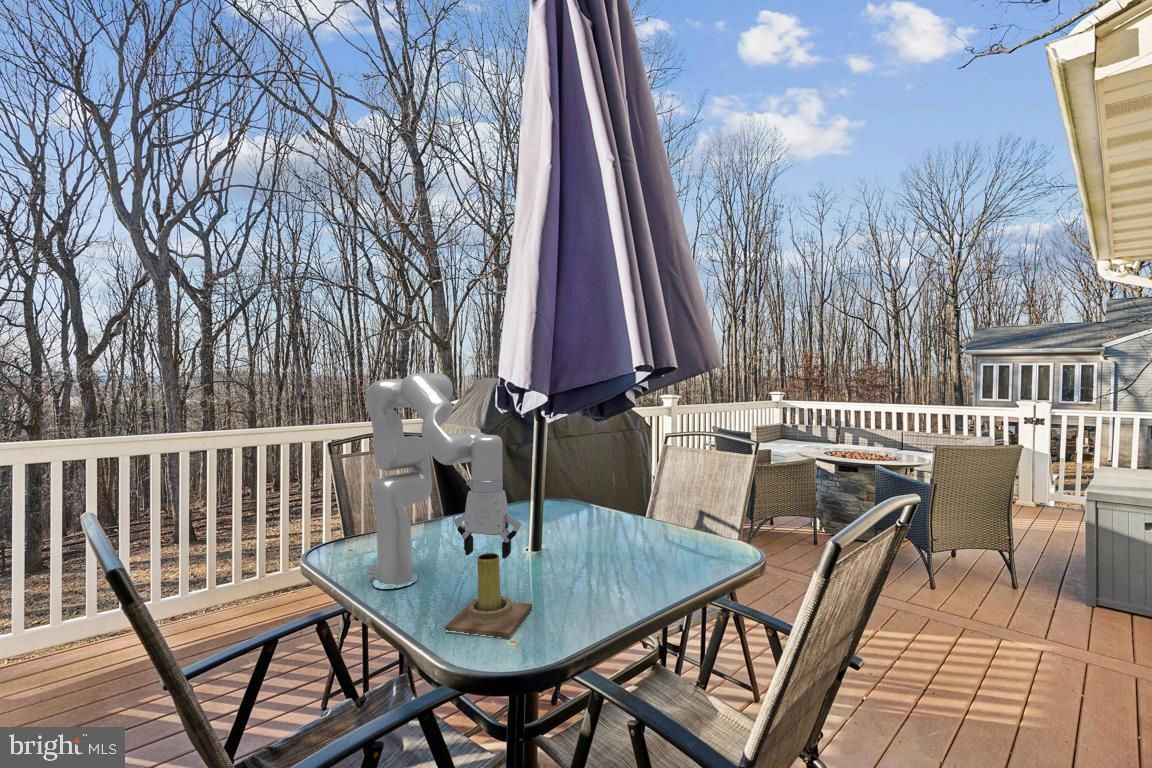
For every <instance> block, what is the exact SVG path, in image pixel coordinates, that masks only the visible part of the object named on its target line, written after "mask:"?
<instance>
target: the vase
mask: <svg viewBox="0 0 1152 768" xmlns="http://www.w3.org/2000/svg"><path fill="white" fill-rule="evenodd" d="M500 572H501V571H500V555H499V554H498V553H494V552H488V553H487V552H486V553H482V554H479V555H478V556H477V599H478V611H485V612H490V611H497V610H499V609H502V608H501V596H502V595H501V594H502V593H501V579H500V578H501V575H500V574H501V573H500Z"/></svg>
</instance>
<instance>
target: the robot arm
mask: <svg viewBox="0 0 1152 768" xmlns="http://www.w3.org/2000/svg"><path fill="white" fill-rule="evenodd" d="M453 391H454V386H453V382H452V380H451V379H450V377H448V376H447V375H446V374H444V373H441V372H416V373H415V372H414V373H411V374H409V375H407V376H405V377H404V378H386V379H385V378H384V379H381V380H380V379H379V380H377V381H374V382H373V383H371V384H370V385H369V386H368V389H367V391H366V396H365V398H366V399H365V402H366V403H365V404H366V408H367V412H368V415H369V418H370V422H371V427H372V436H373V449H374V459H375V464H376V466H377V468H378V469H379V470H380V471H386V472H389V471H390V472H391V471H397V470H405V469H408V472H404V473H403V472H402V473H397V474H391V475H385V476H382V477H381V478H379V479H377V480H376V481H375V482H374V484H373V485H372V489H371V492H372V493H371V495H372V500H373V504H374V509H375V510H374V511H375V520H376V521H375V522H376V544H377V545H376V547H377V548H376V549H377V553H376V554H377V566H376V565H370V566H369V567H368V570H367V572H366V574H367V575H369V576H374V579H375V580H378V581H379V582H381V583H384V584H395V585H403V584H407V583H409V582H412V581H414V580H415V579H416V578H417V579H418V574H417V573H416V572H414V571H412V570H413V565H412V564H413V562H412V558H413V557H412V527H411V526H412V525H411V524H412V523H411V519H410V516H409V515H408V513H407V512H406V511H405V509H404V507H405V506H409V505H413V504H417V503H421V502H422V503H423V502H424V501H427V500H428V499H429V498H430V496H431V494H432V490H433V482H432V481H433V480H432V470H431V457H430V456H432V457H433V458H434V459H435V460H436V461H437V462H438V463H440V464H442V465H445V466H451V465H459V464H463V463H471V478H470V479H467V481H466V486H469V487H470V490H469V491H468V492H467V496H466V503H465V509H464V514H463V515H460V516H458V517H457V518H454V520H453V523H454V525H455V526H456V528H457V532H458V533H459V534H460V535H461V538H462V539H463V544H464V545H463V549H464V554H465V556H469V555H471V554H472V553H473V552H474V536H473V534H474V535H475V534H477V535H489V536H500V538H501V539H502V540H503V541H502V542H501V557H502V558H501V559H504V560H505V559H507V558H508V557H509V556H510V555H511V552H512V539H513V538H514V537H515V536H517V534H518V533H519V531H520V529H521V527H522V522H520V521H519V520H516V519H515V518H513V517H512V516H510V515H509V506H508V505H509V504H508V500H507V495H506V490H504V489H503V486H504V485H503V480H504V479H503V440H502V438H501V437H500V435H495V434H486V433H484V432H480V431H467V432H457V433H449V434H447V433H446V432H445V431H444V430H443V429H442V428H441V426H442V425H443V424H444V423H446V422H447V421H448V420H449V418H450V417H451V415H452V413H453V409H454V408H453V405H452V402H451V401H450V399H451V397H452V395H453V393H454V392H453ZM401 408H413V410H414V411H415V412H416V413H417V415H418V416H419V417H420V418H421V420H422V425H421V437H420V436H418V435H411V436H410V435H408V436H405V434H404V425H403V421H402V418H401V417H400V416H399V414H398V413H397V412H396V411H395V410H394V409H401ZM463 522H464V525H463ZM509 526H512V527H513V528H512V530H511V532H510V530H509ZM412 572H413V574H412ZM411 579H413V580H411Z"/></svg>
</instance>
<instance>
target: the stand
mask: <svg viewBox="0 0 1152 768" xmlns="http://www.w3.org/2000/svg"><path fill="white" fill-rule="evenodd" d="M501 608H502V609H499V610H497V611H490V612H485V611H478V598H473V600H471V601H470V602H469V603H468V604H467V605H466V606H465V607H464V608H463V609H462V610H461V611H460V612H458V614H456V615H455V616H454V617H453V618H452V619H451V620H450V621H449V622H448V623H447V624H446V625H445V626H444V631H445V630H448V631H456V632H464V633H469V634H478V635H486V636H493V637H501V638H508V639H507V640H510V639H511V638H512V636H513V635H514V634H515V633H516V631H517V630H518V629H519V627H520V626H521V625H522V624H521V623H523V622H524V621H525V620H526V619H527V617H528V616H529V615H530V613H531V612H532V611H531V610H533V603H525V602H514V601H513V602H512V600H511V599H510V598H508V597H505V596H502V595H501ZM530 611H531V612H530ZM529 612H530V613H529ZM527 615H528V616H527ZM526 616H527V617H526ZM524 619H525V620H524ZM523 620H524V621H523ZM520 624H521V625H520ZM517 628H518V629H517ZM514 632H515V633H514ZM513 633H514V634H513ZM512 634H513V635H512ZM511 635H512V636H511ZM510 637H511V638H510ZM509 638H510V639H509Z"/></svg>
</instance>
